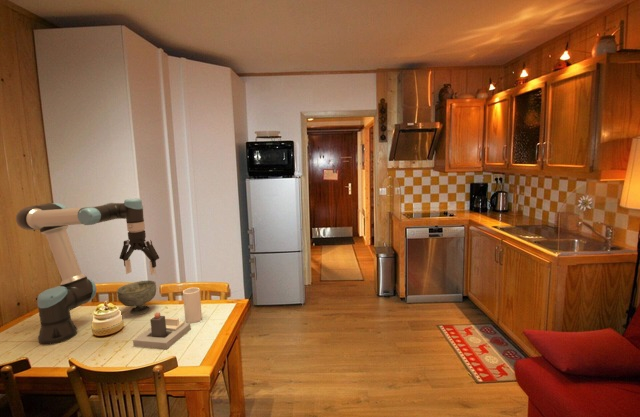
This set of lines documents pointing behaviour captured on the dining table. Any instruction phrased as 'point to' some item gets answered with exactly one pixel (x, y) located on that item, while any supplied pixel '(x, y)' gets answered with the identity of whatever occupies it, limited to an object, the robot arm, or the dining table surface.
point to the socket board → (161, 343)
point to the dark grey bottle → (158, 326)
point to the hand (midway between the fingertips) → (140, 273)
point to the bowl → (137, 295)
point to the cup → (192, 305)
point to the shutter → (173, 323)
